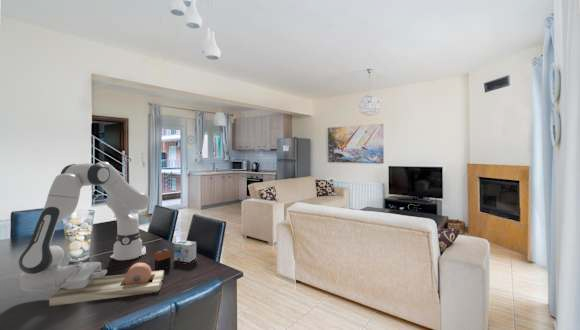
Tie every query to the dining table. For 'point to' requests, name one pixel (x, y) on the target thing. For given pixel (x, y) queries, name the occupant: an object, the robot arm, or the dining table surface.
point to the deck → (106, 289)
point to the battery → (162, 259)
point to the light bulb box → (185, 251)
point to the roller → (138, 274)
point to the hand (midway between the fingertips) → (106, 272)
